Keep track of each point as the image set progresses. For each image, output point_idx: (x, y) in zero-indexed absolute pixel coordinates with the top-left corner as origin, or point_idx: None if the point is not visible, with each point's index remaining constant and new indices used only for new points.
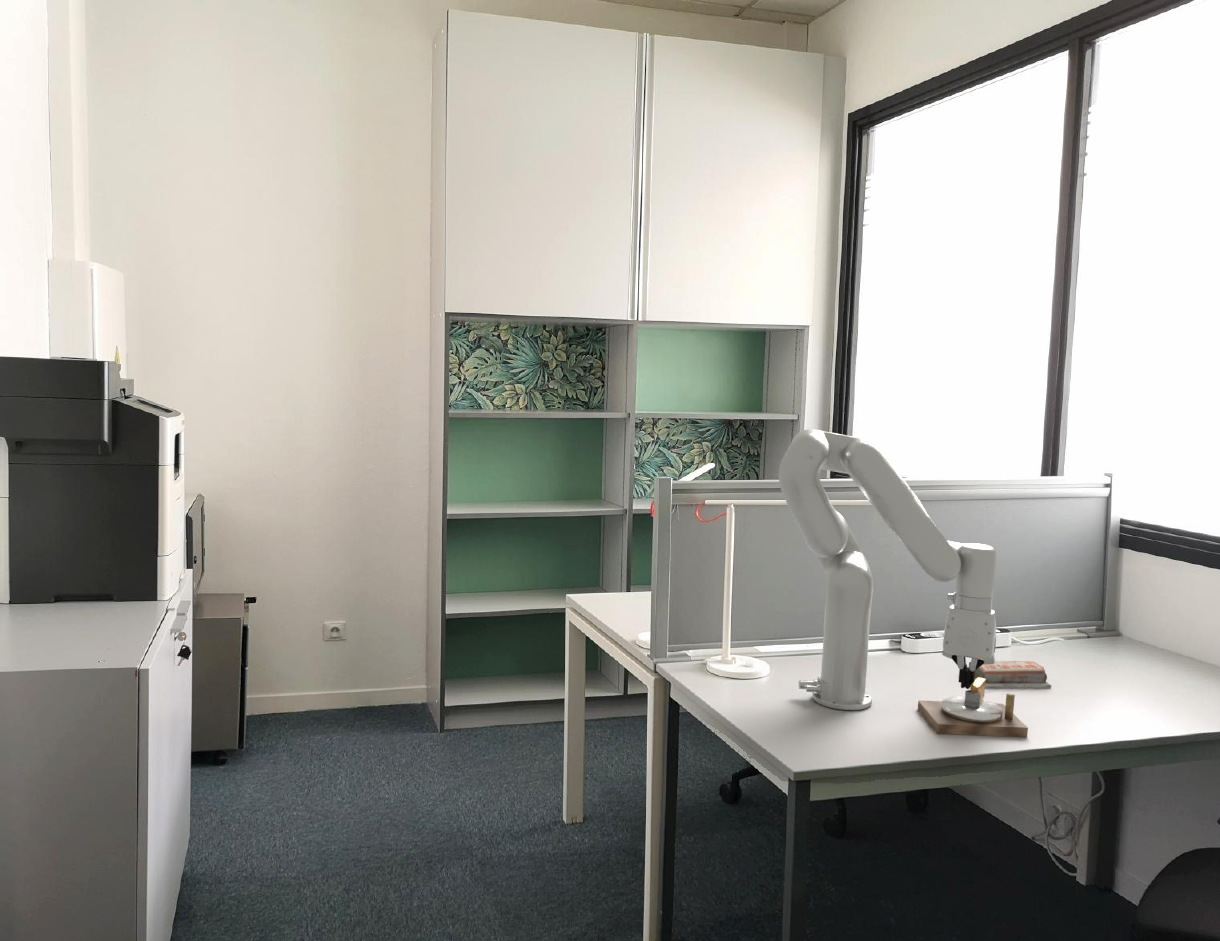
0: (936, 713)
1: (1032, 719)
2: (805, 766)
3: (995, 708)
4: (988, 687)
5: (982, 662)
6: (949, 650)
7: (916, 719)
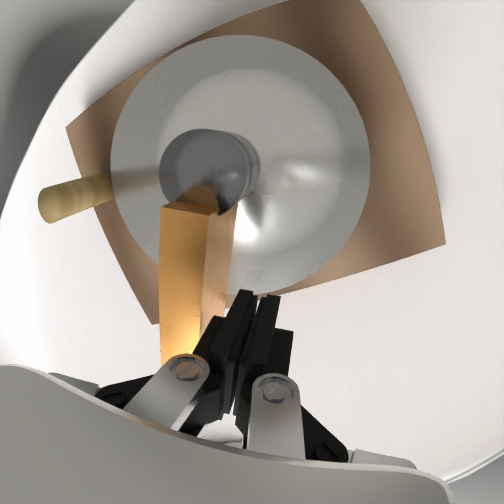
0: (377, 98)
1: (96, 283)
2: None
3: (135, 194)
4: (225, 443)
5: (102, 395)
6: (402, 493)
7: (434, 118)
